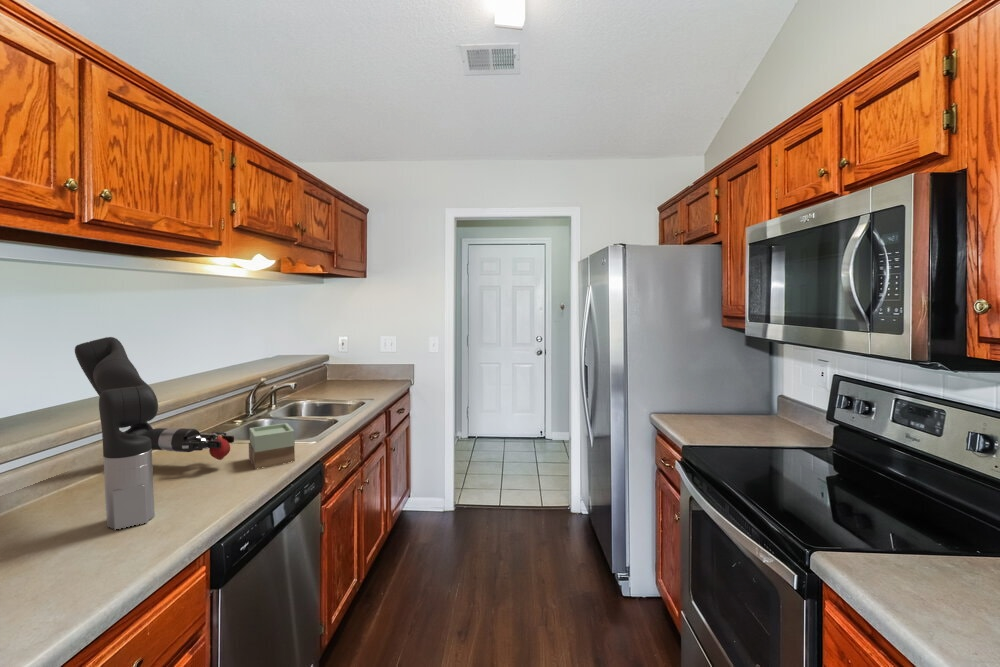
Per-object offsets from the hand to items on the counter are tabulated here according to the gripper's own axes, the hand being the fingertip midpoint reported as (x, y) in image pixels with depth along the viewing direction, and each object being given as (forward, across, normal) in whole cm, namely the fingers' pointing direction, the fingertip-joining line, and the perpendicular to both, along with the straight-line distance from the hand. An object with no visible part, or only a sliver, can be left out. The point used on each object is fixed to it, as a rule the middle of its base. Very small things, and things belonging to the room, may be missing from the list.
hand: (226, 441), depth 147 cm
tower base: (+9, +9, +9) cm, 16 cm away
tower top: (+10, +9, +3) cm, 14 cm away
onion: (-3, 0, +6) cm, 7 cm away
